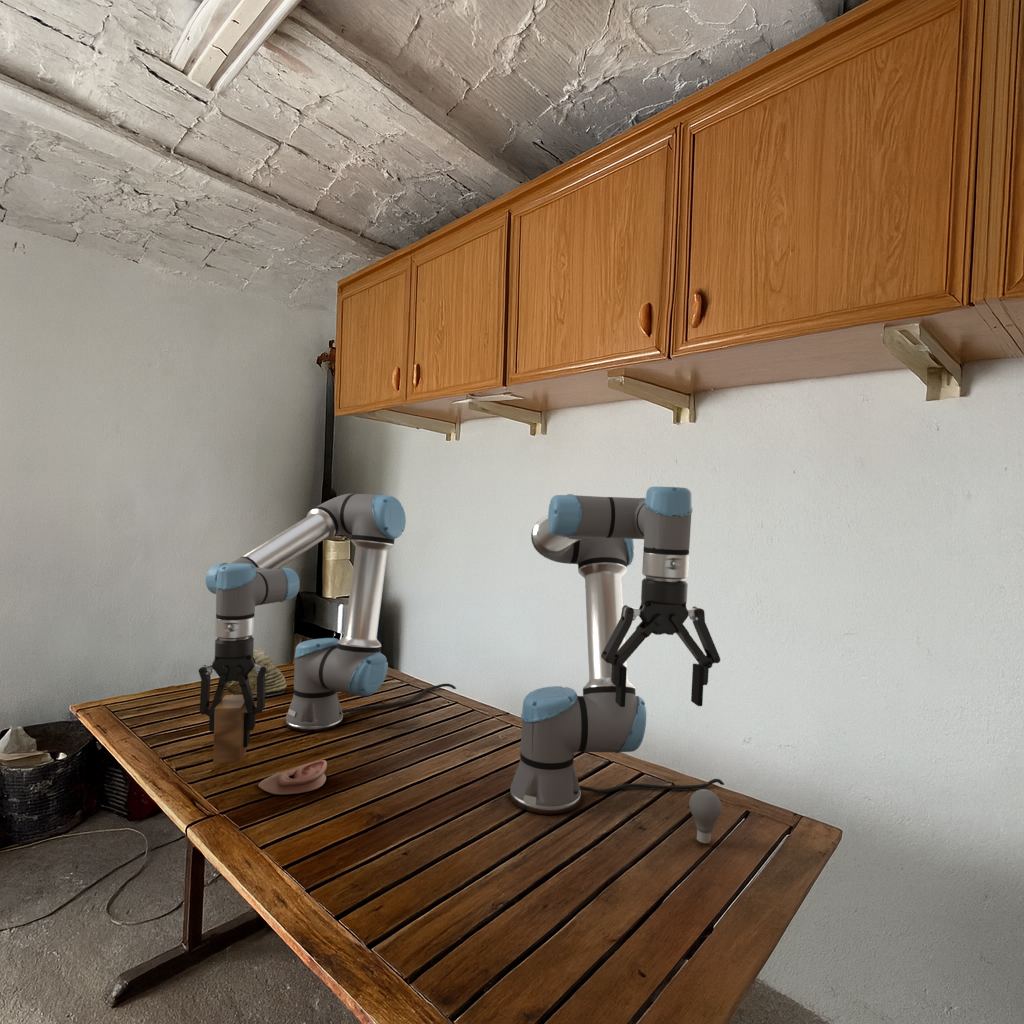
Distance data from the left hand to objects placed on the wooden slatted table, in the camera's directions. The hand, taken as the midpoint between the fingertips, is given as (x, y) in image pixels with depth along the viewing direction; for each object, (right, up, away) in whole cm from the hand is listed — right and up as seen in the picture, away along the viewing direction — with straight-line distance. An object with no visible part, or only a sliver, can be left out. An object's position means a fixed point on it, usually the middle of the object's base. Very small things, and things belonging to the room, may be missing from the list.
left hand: (231, 745), depth 135 cm
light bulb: (+97, -14, -13) cm, 99 cm away
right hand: (+85, +17, -28) cm, 91 cm away
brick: (0, -2, 0) cm, 2 cm away
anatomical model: (+12, -10, +4) cm, 16 cm away
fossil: (-21, -8, +63) cm, 67 cm away
